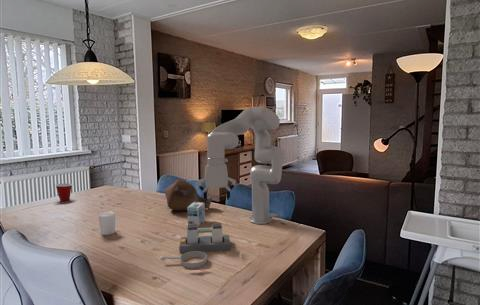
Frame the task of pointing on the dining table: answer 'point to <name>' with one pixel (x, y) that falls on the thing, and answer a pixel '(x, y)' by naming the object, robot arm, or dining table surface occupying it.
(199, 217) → the light bulb box
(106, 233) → the white cup
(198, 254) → the saucepan
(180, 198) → the jug
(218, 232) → the plug
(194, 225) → the light grey peg
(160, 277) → the dining table surface
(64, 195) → the plastic cup
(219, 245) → the strip
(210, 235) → the tray
